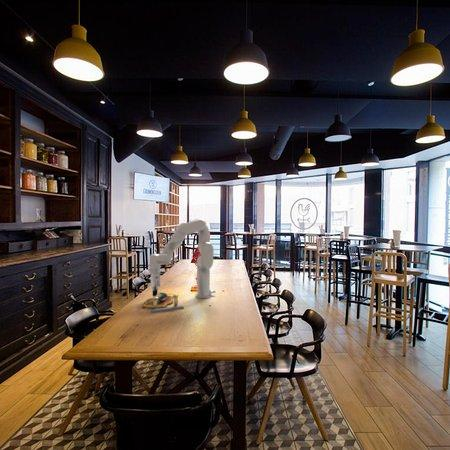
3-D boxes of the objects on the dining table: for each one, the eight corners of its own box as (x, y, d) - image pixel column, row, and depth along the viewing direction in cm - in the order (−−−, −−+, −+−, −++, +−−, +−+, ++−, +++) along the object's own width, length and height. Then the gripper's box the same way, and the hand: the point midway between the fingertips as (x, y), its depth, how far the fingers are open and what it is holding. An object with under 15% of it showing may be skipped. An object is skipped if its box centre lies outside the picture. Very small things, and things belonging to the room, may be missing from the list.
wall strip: (182, 307, 210) (182, 305, 210) (183, 308, 207) (183, 306, 207) (149, 312, 199) (149, 309, 199) (150, 313, 197) (150, 311, 197)
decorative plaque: (151, 288, 236) (177, 288, 235) (151, 297, 237) (177, 298, 235) (137, 298, 206) (167, 299, 205) (137, 309, 206) (167, 310, 205)
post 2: (177, 306, 211) (177, 294, 211) (179, 308, 208) (179, 295, 208) (172, 307, 210) (172, 294, 209) (174, 308, 206) (174, 296, 206)
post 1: (157, 309, 205) (157, 296, 204) (158, 311, 201) (158, 297, 201) (151, 310, 203) (151, 297, 203) (153, 311, 200) (153, 298, 199)
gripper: (163, 272, 222) (163, 297, 223) (157, 269, 235) (157, 293, 236) (152, 273, 219) (152, 298, 219) (147, 269, 232) (147, 294, 232)
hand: (155, 295), depth 227 cm, fingers closed
